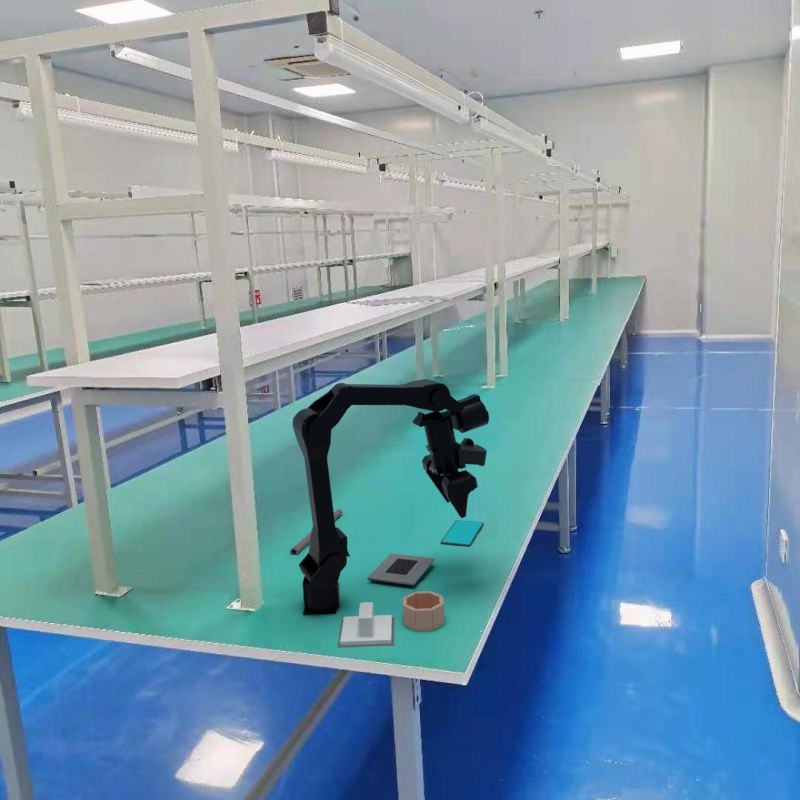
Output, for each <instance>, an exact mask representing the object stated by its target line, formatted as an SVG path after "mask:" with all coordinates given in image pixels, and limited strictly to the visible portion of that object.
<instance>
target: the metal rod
mask: <svg viewBox="0 0 800 800" xmlns="http://www.w3.org/2000/svg"><path fill="white" fill-rule="evenodd" d="M343 512H344V511H343V510H342V509H340V508H339V509H336V510H334V519H335V520H336V519H337V518H338V517H339V516H340V515H341V514H342V513H343ZM343 514H344V513H343ZM343 514H342V515H343ZM342 515H341V516H342ZM341 516H340V517H341ZM340 517H339V518H340ZM339 518H338V519H339ZM338 519H337V520H338ZM337 520H336V521H337ZM311 532H312V531H310V532H309V533H308V534H307V535H306V536H305V537H303V538H302V539H301V540H300V541H299V542H297V543H296V544H295V545H294V546H293V547H291V549H290V550H289V554H290V555H291V556H292V555H295V556H298V555H299V554H300V553H301V552H302V551H304V549H305V548H307V547H308V546H309V545H310V535H311ZM307 545H308V546H307Z"/></svg>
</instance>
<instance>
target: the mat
mask: <svg viewBox="0 0 800 800" xmlns="http://www.w3.org/2000/svg"><path fill="white" fill-rule="evenodd" d="M343 620H344V618H343V619H341V621H340V629H339V636H338V641H337V647H336V648H338V649H339V648H361V647H362V648H364V647H367V648H368V647H369V648H370V647H387V646H388V647H389V646H391V647H393V646H395V620H396V618H395V617H392V638H391V644H376V645H349V646H340V640H341V633H342V627H343Z"/></svg>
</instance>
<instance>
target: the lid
mask: <svg viewBox="0 0 800 800" xmlns="http://www.w3.org/2000/svg"><path fill="white" fill-rule="evenodd" d="M358 610H359V611H358V615H357V616H355V615H354V616H344V617H343V619H344V620H343V627H342V633H341V640H340V646H349V645H376V644H391V638H392V618H393V616H392V615H393V614H381V615H379V614H378V615H375V613H374V611H375V610H374V602H373V601H369V602H368V601H367V602H364V601H363V602H359V609H358Z"/></svg>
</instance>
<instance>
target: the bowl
mask: <svg viewBox="0 0 800 800" xmlns="http://www.w3.org/2000/svg"><path fill="white" fill-rule="evenodd" d="M402 608H403V610H402V612H403V614H402V615H403V625H404V627H406V628H409V629H411V630H413V631H415V632H421V631H422V632H425V631H434V630H436V629H438V628H439V627H442V626H444V625H445V604H444V597H443V595H441V594H438V593H437V592H433V591H430V590H429V591H413V592H412V593H410V594H407V595H405V596H404V597H402Z"/></svg>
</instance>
